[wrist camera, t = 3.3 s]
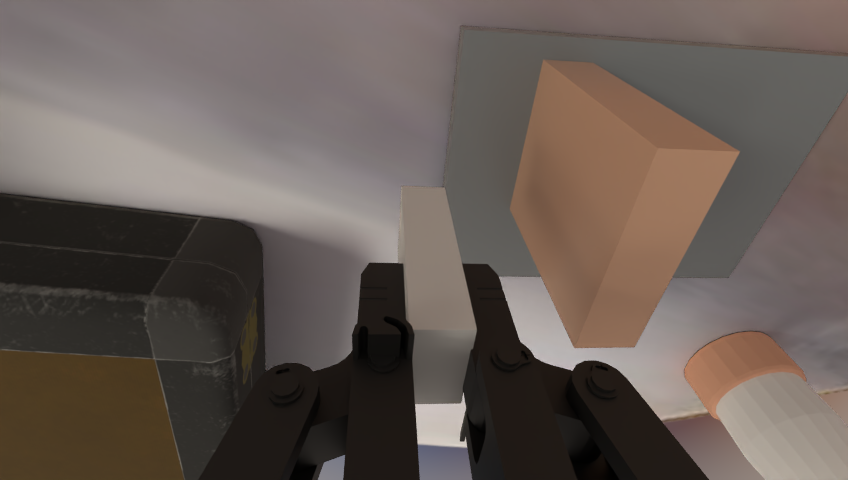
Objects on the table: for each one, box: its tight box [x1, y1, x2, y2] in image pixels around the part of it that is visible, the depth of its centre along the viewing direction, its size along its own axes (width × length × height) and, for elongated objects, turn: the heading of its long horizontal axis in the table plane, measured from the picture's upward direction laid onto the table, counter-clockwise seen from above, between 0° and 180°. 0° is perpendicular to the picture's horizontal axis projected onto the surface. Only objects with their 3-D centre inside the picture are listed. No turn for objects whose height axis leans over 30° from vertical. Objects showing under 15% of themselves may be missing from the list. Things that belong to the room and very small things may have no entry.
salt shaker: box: [685, 331, 848, 480], centre depth 28 cm, size 7×7×19 cm
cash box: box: [0, 194, 265, 480], centre depth 27 cm, size 25×20×8 cm
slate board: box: [443, 26, 848, 278], centre depth 24 cm, size 20×14×1 cm
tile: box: [510, 60, 740, 348], centre depth 18 cm, size 3×8×10 cm, turn 176°
